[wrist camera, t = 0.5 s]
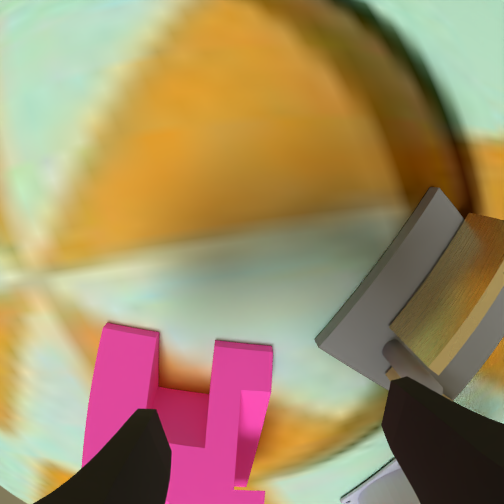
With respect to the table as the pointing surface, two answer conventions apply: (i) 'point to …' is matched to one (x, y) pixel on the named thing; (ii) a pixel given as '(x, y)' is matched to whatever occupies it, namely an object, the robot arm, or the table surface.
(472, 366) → the hinge mount
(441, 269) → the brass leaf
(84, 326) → the table surface
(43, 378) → the table surface
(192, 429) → the bracket
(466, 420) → the robot arm
